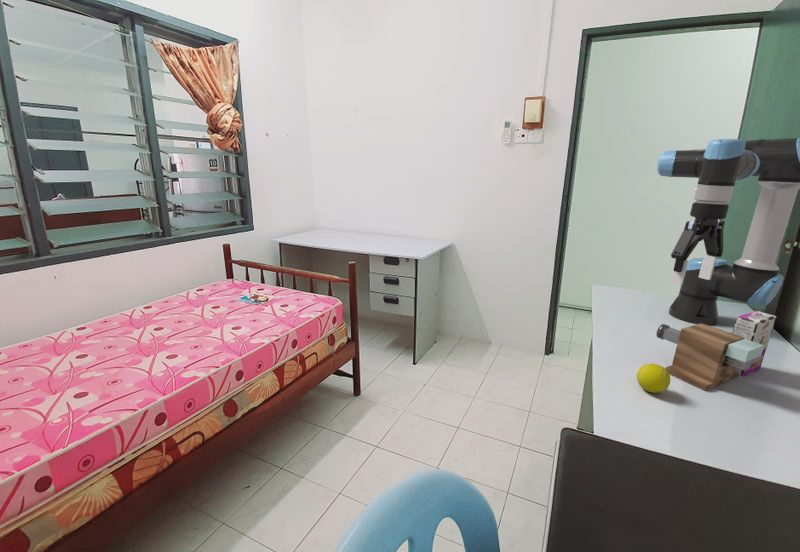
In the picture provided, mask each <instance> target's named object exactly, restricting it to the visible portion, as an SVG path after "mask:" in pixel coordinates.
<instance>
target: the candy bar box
mask: <svg viewBox="0 0 800 552" xmlns="http://www.w3.org/2000/svg"><path fill="white" fill-rule="evenodd" d="M776 319H777V316H776V315H773V314H770V313H767V312H762V311H758V310H754V311H751V312H748V313H745V314H742V315H738V316H736V319H735V322H734V326H733V330H732V334H735V335H738V336H741V337H744V339H746V340H749V341H752V342H755V343H758V344H761V345H764V348H763V351H762V354H761V356H760V357H758V358H755V359H753V360H752V363H751V366H750V368H749V369H746V370H742V369H739V368H737V367H735V369H734V371H735V372H738V375H737V377H740V378H743V377H745V376H747V375H750V374H751V373H754V372H756V371H759V370H760V369H761V366H762V364H763V360H764V358H765V354H766V351H767V347H768V344H769V342H770V338H771V335H772V332H773V328H774V327H775V322H776Z"/></svg>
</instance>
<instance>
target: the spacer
mask: <svg viewBox="0 0 800 552" xmlns="http://www.w3.org/2000/svg"><path fill="white" fill-rule="evenodd" d="M763 348H764V345H761V344H758V343H755V342H752V341H749V340H746V339H743V340H740V341H737V342H734V343H731V344H729V345H728V349H727V352H726V356H729V357H732V358H734V359H737V360H740V361H742V362H747V361H750V360H752V359H755V358H758V357H760V356H761V354H762V351H763Z"/></svg>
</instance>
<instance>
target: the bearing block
mask: <svg viewBox="0 0 800 552" xmlns="http://www.w3.org/2000/svg"><path fill="white" fill-rule="evenodd" d="M680 331H681V332H680V336H679V340H678V343H677V344H676V348H675V352H674V355H673V359H672V363H671V365H667V366H666V367H664V368H665V369H666V370H667V371H668V373H669V375H670V376H672V377H673V378H676V379H679V380H681V381H683V382H685V383H687V384H689V385H691V386H694V387H695V388H698V389H700V390H702V391H708V390H711V389H713V388H715V387H718V386H721V385H723V384H724V383H727V382H729V381H733V380H735V379H737V378H738V376H737V375H738V372H735V371H734V369H735V367H734V366H731V365H729V364H726V363H724V359H725V356H726V352H727V349H728V345H729V344H731V343H734V342H737V341H740V340H743V339H744V337H741V336H738V335H735V334H732V333H733V332H732V333H731V332H728V331H726V330H722V329H719V328H717V327H715V326H714V327H713V326H712V325H711V326H710V325H709V324H702V323H701V324H698V323H696V324H694V325H691V326H687V327H683V328H680Z"/></svg>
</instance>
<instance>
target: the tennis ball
mask: <svg viewBox="0 0 800 552" xmlns="http://www.w3.org/2000/svg"><path fill="white" fill-rule="evenodd" d="M636 380H637V383H638V385H639V386H640V387H641V388H642V389H643V390H645V391H647V392H649V393H652V394H653V393H654V394H659V393H662V392H665V391H666V390H667V389H668V388H669V387H670V384H671V375H670V374H669V373H668V371H667V370H666V369H665V367H664V366H661V365H659V364H657V363H651V362H650V363H645V364H643V365H642V366H640V367H639V368H638V370H637V374H636Z"/></svg>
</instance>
